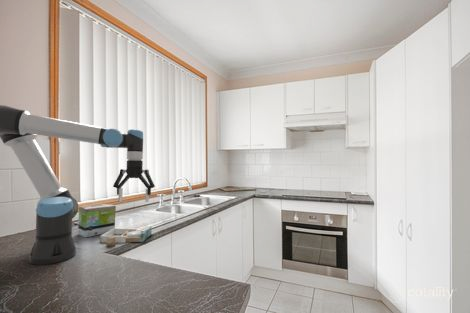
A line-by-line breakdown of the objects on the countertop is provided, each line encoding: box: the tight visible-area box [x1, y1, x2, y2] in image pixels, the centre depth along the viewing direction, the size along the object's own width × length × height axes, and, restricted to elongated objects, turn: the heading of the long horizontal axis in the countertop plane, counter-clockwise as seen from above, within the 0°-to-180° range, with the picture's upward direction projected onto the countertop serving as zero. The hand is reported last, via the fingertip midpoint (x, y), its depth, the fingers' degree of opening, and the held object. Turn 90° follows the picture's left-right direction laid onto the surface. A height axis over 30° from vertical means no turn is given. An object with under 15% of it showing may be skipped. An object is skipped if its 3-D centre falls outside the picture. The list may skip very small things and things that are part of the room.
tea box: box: [77, 203, 117, 238], centre depth 130 cm, size 15×10×15 cm, turn 143°
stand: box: [105, 237, 116, 248], centre depth 111 cm, size 4×4×4 cm
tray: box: [120, 226, 152, 243], centre depth 122 cm, size 13×12×4 cm
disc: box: [127, 230, 142, 238], centre depth 122 cm, size 7×7×2 cm
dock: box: [99, 227, 137, 244], centre depth 122 cm, size 14×12×3 cm
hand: (133, 201), depth 123 cm, fingers open, 13 cm apart
